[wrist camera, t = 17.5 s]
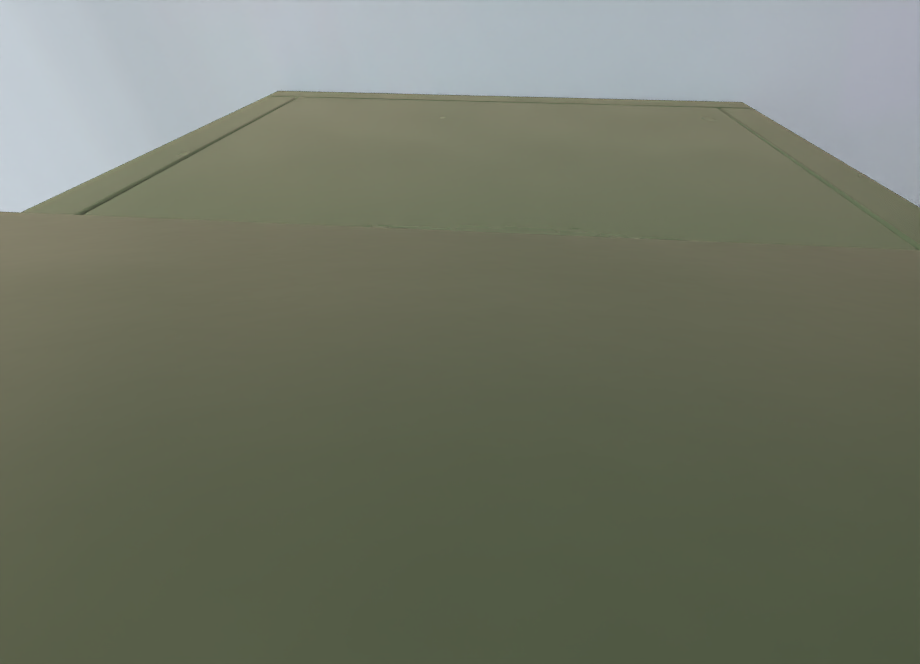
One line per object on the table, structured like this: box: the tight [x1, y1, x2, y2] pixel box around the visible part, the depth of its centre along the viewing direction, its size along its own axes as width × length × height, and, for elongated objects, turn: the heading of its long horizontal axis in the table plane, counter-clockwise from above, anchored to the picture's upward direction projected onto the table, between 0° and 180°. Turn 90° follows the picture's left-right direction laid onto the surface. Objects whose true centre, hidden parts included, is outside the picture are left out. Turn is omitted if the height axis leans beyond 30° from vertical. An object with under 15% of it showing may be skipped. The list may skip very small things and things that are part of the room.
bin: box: [21, 91, 920, 250], centre depth 13 cm, size 12×11×9 cm
